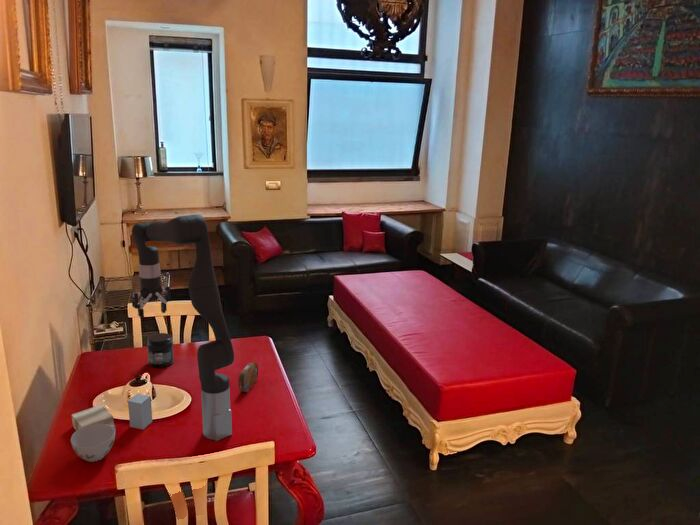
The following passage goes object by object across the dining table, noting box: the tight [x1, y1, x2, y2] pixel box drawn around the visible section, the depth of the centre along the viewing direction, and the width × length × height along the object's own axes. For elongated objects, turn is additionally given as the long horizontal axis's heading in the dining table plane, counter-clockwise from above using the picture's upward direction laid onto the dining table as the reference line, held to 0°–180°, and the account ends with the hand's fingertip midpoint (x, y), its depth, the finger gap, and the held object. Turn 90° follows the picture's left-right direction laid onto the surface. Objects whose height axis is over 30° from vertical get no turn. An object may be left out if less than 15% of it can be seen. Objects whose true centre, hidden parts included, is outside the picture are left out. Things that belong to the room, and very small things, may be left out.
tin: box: [237, 362, 259, 393], centre depth 213 cm, size 15×3×8 cm, turn 168°
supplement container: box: [146, 332, 175, 369], centre depth 229 cm, size 10×10×12 cm
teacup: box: [70, 424, 116, 463], centre depth 168 cm, size 15×12×8 cm
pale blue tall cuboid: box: [127, 393, 153, 430], centre depth 185 cm, size 5×5×10 cm
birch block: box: [71, 404, 115, 432], centre depth 183 cm, size 10×10×5 cm
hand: (152, 314), depth 206 cm, fingers open, 8 cm apart
